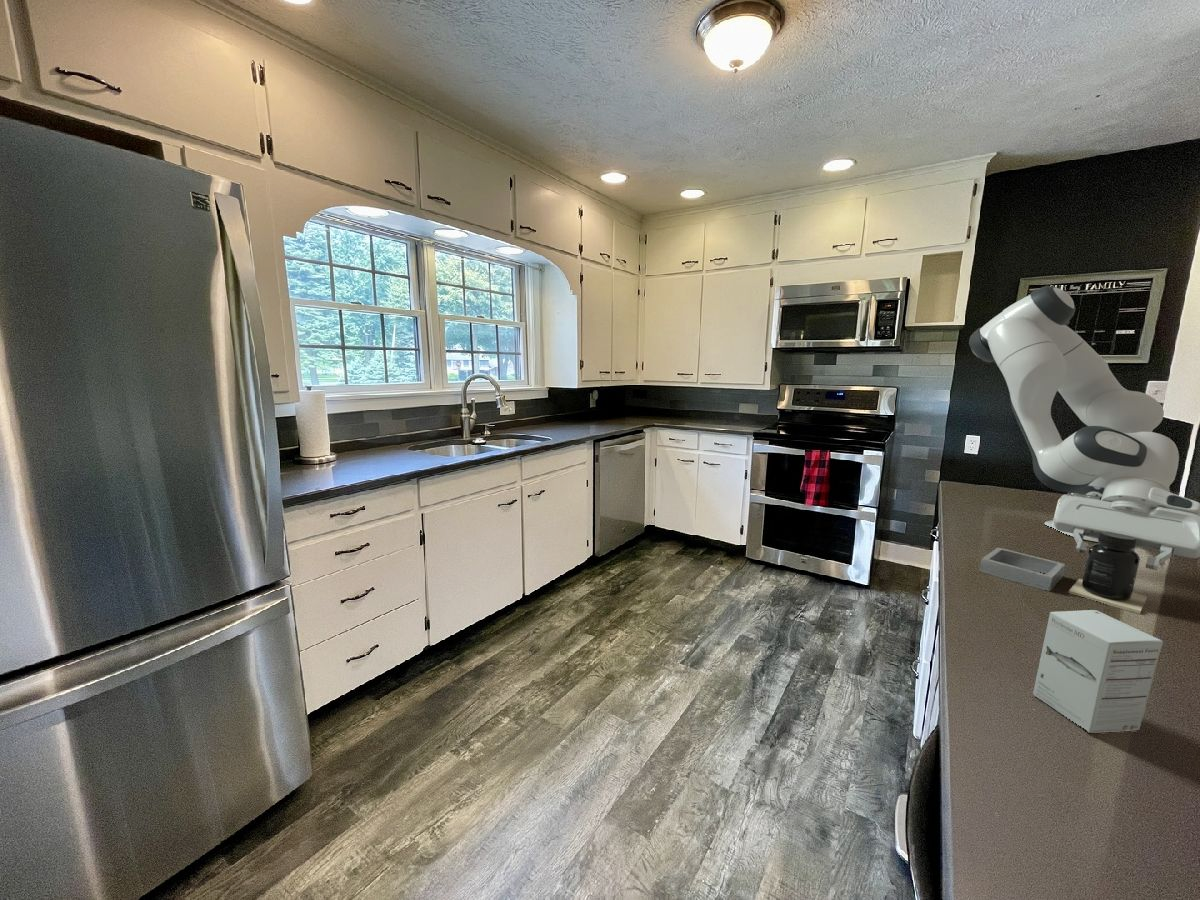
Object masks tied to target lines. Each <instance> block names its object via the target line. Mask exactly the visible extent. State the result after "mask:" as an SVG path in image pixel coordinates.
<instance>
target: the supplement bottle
mask: <svg viewBox="0 0 1200 900" xmlns="http://www.w3.org/2000/svg"><path fill="white" fill-rule="evenodd" d="M1098 541H1099V542H1098V543H1095V544H1093V545H1091V546H1090V547H1088V551H1087V558H1086V562H1085V568H1084V570H1083V577H1082V580H1083V581H1082V587H1083V588H1084V589H1085V590H1086V591H1088V592H1090V593H1092V594H1095V595H1098V596H1101V597H1105V598H1109V599H1114V600H1128V599H1130V598H1131V595H1132V593H1134V592H1133V591H1134V587H1135V583H1136V578H1137V573H1138V570H1139V565H1140V560H1141V558H1140V555H1139V554H1138V553H1137V552H1136V551H1134V550H1133V549H1136V546H1135V543H1136V538H1134V537H1132V536H1128V535H1123V534H1118V533H1113V532H1106V531H1103V532H1100V536H1099V538H1098Z"/></svg>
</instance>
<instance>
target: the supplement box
mask: <svg viewBox="0 0 1200 900" xmlns="http://www.w3.org/2000/svg"><path fill="white" fill-rule="evenodd" d="M1048 615H1049V617H1048V619H1047V620H1048V621H1047V625H1046V631H1045V635H1044V639H1043V644H1042V649H1041V653H1040V659H1039V664H1038V668H1037V671H1036V677H1035V682H1034V687H1033V692H1032V695H1033V697H1036V698H1037V699H1039V700H1040V701H1042V702H1044V703H1045V704H1046V705H1048V706H1049V707H1051V708H1052V709H1053V710H1055V711H1056V712H1057V713H1059V714H1061V715H1062V716H1063V715H1064V716H1063V717H1065V718H1066V717H1067V719H1068V720H1069V719H1070V721H1071V722H1072V721H1073V722H1074V724H1075V723H1076V724H1077V725H1076V724H1075V725H1076V726H1078V725H1079V726H1081V727H1082V728H1084V729H1086V730H1087V731H1088V732H1104V731H1105V732H1106V731H1108V732H1111V731H1126V730H1139V731H1140V728H1141V725H1142V721H1143V717H1144V714H1145V711H1146V708H1147V703H1148V699H1149V695H1150V691H1151V688H1152V684H1153V679H1154V678H1155V672H1156V668H1157V666H1158V660H1159V657H1160V654H1161V650H1162V648H1163V644H1164V641H1163V640H1162V639H1160V638H1158V637H1156V636H1153V635H1151V634H1149V633H1147V632H1144V631H1142V630H1140V629H1138V628H1135V627H1133V626H1131V625H1129V624H1127V623H1124V622H1123V621H1121V620H1118V619H1116V618H1115V617H1112V616H1110V615H1107V614H1105V613H1104V612H1101V611H1099V610H1096V609H1089V610H1088V609H1083V610H1066V611H1065V610H1063V611H1049V614H1048ZM1073 722H1072V723H1073ZM1079 726H1078V727H1079ZM1082 728H1081V729H1082Z"/></svg>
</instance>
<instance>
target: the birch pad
mask: <svg viewBox="0 0 1200 900" xmlns="http://www.w3.org/2000/svg"><path fill="white" fill-rule="evenodd" d="M1082 581H1083V578H1078V579H1077V580H1076V581H1075V583H1074V584H1073V585H1072V586H1071V587H1070V588H1069V590H1068V593H1070V594H1069V595H1071V594H1074V595H1078V596H1081V597H1085V598H1087V599H1086V600H1089V599H1091V600H1090V601H1092V600H1094V601H1093V602H1096V601H1098V602H1097V603H1099V602H1101V604H1103V603H1104V605H1106V604H1107V606H1110V607H1114V608H1117V609H1121V610H1123V611H1128V612H1131V613H1134V614H1138V615H1140V614H1141V612H1142V610H1143V608H1144V606H1145V604H1146V601H1147V600H1148V596H1147V595H1143V594H1139V593H1134V592H1132V595H1131V598H1130V599H1128V600H1114V599H1109V598H1105V597H1101V596H1098V595H1095V594H1092V593H1090V592H1088V591H1086V590H1085V589H1084V588H1083V587H1082ZM1068 593H1067V594H1068ZM1074 595H1073V596H1074ZM1078 596H1077V597H1078ZM1081 597H1080V598H1081ZM1085 598H1084V599H1085Z"/></svg>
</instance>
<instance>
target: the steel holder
mask: <svg viewBox="0 0 1200 900" xmlns="http://www.w3.org/2000/svg"><path fill="white" fill-rule="evenodd" d="M1065 567H1066V564H1065V563H1064V562H1063V563H1062V562H1059V561H1056V560H1050V559H1046V558H1043V557H1039V556H1034V555H1031V554H1026V553H1023V552H1018V551H1014V550H1011V549H1008V548H1007V549H1006V548H1002V547H999V546H998V547H996V548H995V549H993V550H992V551H990V552H989V553H987V554H986V555H984V556H983V557H981V560H980V565H979V572H980V573H983V574H986V575H991V576H994V577H998V578H1000V579H1005V580H1007V581H1012V582H1015V583H1018V584H1021V585H1025V586H1029V587H1031V588H1035V589H1039V590H1043V591H1045V590H1047V591H1046V592H1050V591H1052V589H1053V588H1054V587H1055V586H1056V585H1057V584H1058V583H1059V582H1060V581H1061V580H1060V579H1063V577H1064V573H1065ZM1040 572H1041V573H1040ZM1043 573H1045V574H1043ZM1059 580H1060V581H1059ZM1058 581H1059V582H1058ZM1057 582H1058V583H1057ZM1056 583H1057V584H1056Z"/></svg>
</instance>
